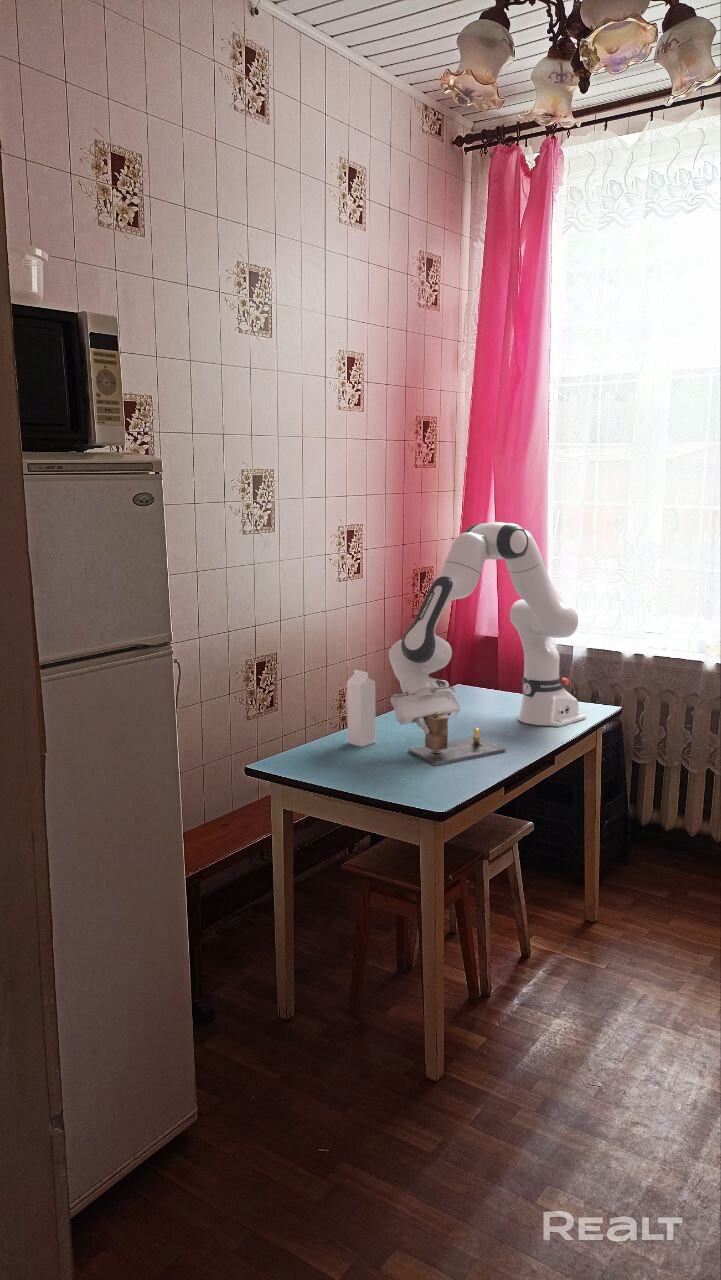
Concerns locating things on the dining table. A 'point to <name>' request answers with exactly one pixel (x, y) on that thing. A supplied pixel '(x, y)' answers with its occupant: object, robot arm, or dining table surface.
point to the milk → (361, 709)
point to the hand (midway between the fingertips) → (437, 731)
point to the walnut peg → (437, 732)
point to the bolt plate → (458, 750)
